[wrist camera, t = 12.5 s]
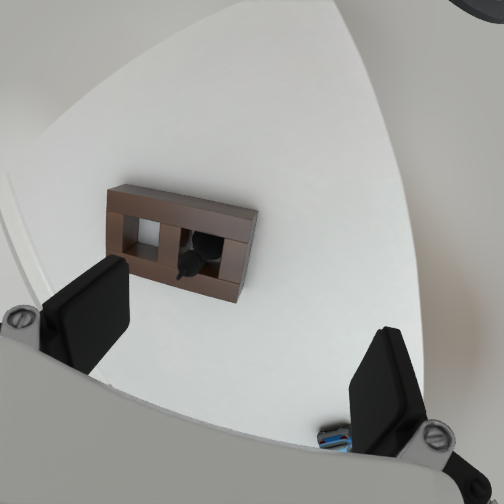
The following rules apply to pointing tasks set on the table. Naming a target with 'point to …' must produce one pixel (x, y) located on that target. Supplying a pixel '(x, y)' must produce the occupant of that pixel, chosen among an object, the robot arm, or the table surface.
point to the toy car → (336, 439)
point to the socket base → (180, 238)
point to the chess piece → (199, 254)
